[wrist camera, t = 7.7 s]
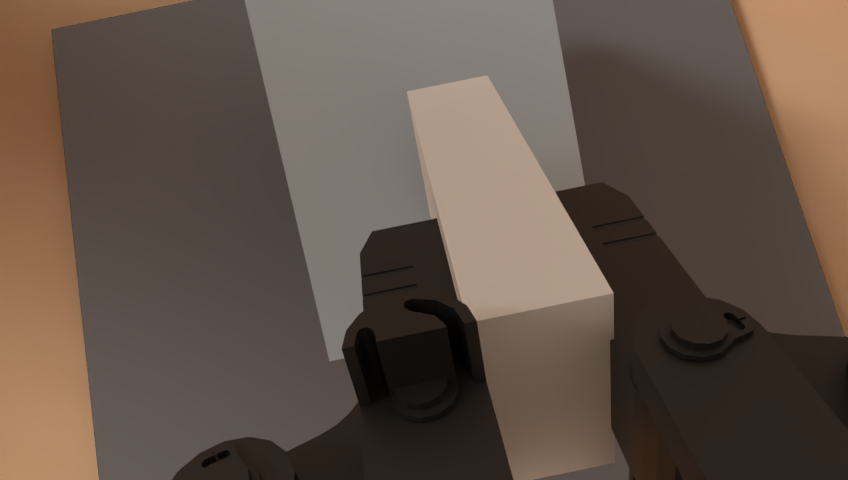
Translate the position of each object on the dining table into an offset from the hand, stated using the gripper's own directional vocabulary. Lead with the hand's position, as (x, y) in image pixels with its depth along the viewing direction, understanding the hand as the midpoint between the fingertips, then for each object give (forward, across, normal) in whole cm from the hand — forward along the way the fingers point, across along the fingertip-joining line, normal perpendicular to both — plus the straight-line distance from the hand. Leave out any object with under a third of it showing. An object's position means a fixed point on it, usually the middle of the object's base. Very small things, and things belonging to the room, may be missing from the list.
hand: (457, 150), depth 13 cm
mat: (+6, 0, -5) cm, 8 cm away
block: (+2, 0, -5) cm, 6 cm away
